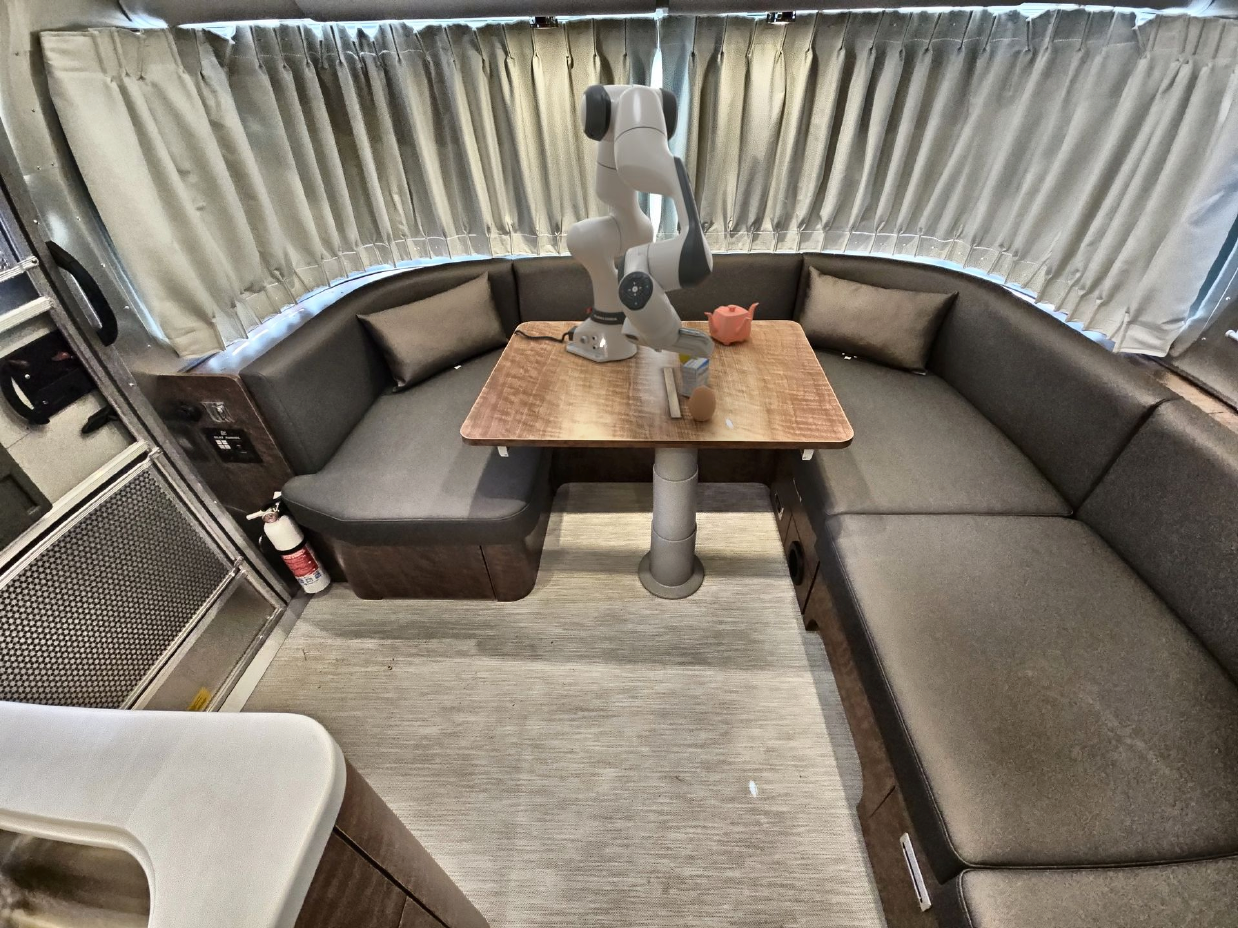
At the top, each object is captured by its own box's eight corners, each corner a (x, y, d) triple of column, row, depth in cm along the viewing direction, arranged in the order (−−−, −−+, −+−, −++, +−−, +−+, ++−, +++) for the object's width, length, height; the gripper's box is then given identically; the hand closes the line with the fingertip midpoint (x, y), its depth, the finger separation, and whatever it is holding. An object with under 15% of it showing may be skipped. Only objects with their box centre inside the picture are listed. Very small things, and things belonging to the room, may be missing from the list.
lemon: (685, 372, 153) (686, 346, 148) (674, 365, 157) (675, 339, 152) (701, 368, 155) (703, 342, 150) (690, 361, 159) (692, 336, 154)
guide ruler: (671, 418, 132) (671, 417, 132) (663, 369, 155) (663, 368, 155) (681, 418, 132) (681, 417, 132) (671, 369, 155) (671, 368, 155)
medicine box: (695, 399, 140) (697, 369, 135) (680, 395, 142) (681, 365, 137) (707, 387, 145) (710, 357, 140) (693, 383, 147) (694, 354, 142)
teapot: (754, 333, 175) (759, 300, 169) (747, 350, 164) (751, 316, 158) (711, 328, 179) (714, 296, 173) (701, 344, 169) (703, 310, 162)
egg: (699, 410, 135) (701, 377, 130) (720, 419, 131) (723, 386, 126) (681, 419, 131) (683, 386, 126) (702, 429, 127) (705, 395, 122)
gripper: (710, 321, 109) (723, 348, 122) (623, 306, 118) (644, 333, 130) (700, 349, 109) (714, 374, 121) (614, 332, 117) (635, 357, 130)
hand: (677, 353), depth 126 cm, fingers open, 8 cm apart
